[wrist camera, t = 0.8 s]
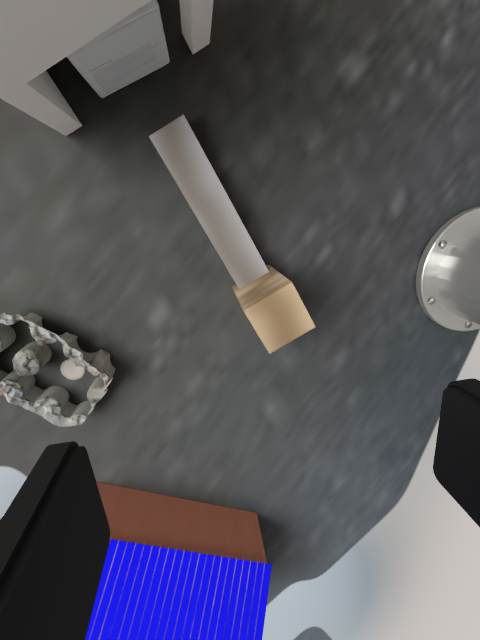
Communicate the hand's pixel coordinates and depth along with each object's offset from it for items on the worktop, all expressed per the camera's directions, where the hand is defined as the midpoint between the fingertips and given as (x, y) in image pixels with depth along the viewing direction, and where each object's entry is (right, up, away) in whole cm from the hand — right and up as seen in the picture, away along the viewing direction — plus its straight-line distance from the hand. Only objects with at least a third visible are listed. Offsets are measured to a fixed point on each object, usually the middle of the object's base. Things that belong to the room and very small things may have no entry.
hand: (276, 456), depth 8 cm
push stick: (-2, +12, +21) cm, 24 cm away
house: (-10, -22, +32) cm, 40 cm away
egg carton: (-19, 0, +23) cm, 29 cm away
